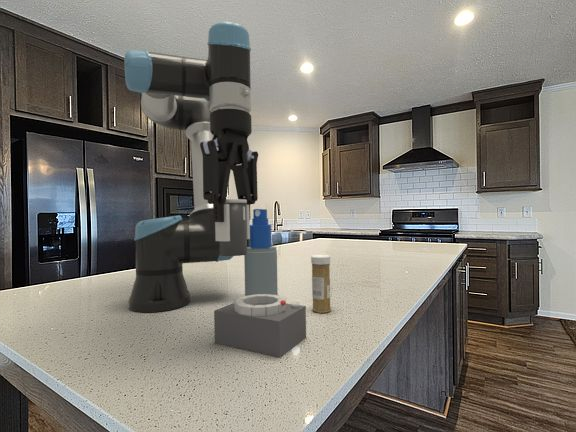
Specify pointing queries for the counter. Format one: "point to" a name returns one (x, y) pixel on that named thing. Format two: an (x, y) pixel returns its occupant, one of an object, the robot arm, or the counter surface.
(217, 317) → the grey block with ring
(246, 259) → the spray bottle
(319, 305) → the sprinkles bottle
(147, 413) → the counter surface
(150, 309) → the robot arm
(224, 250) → the grey cylinder
